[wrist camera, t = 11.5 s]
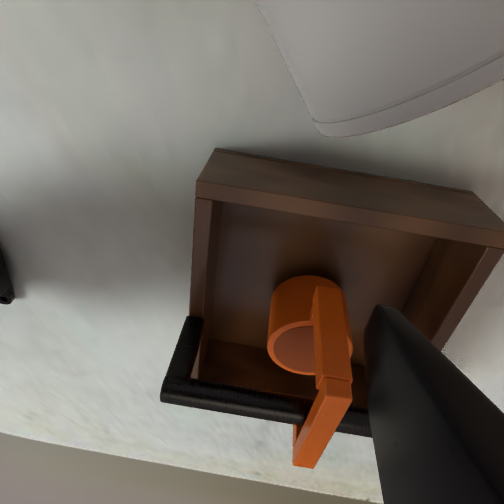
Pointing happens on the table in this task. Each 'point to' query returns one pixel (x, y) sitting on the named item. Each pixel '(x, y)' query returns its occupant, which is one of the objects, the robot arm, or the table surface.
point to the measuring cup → (313, 355)
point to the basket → (327, 258)
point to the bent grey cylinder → (385, 56)
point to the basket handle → (240, 391)
